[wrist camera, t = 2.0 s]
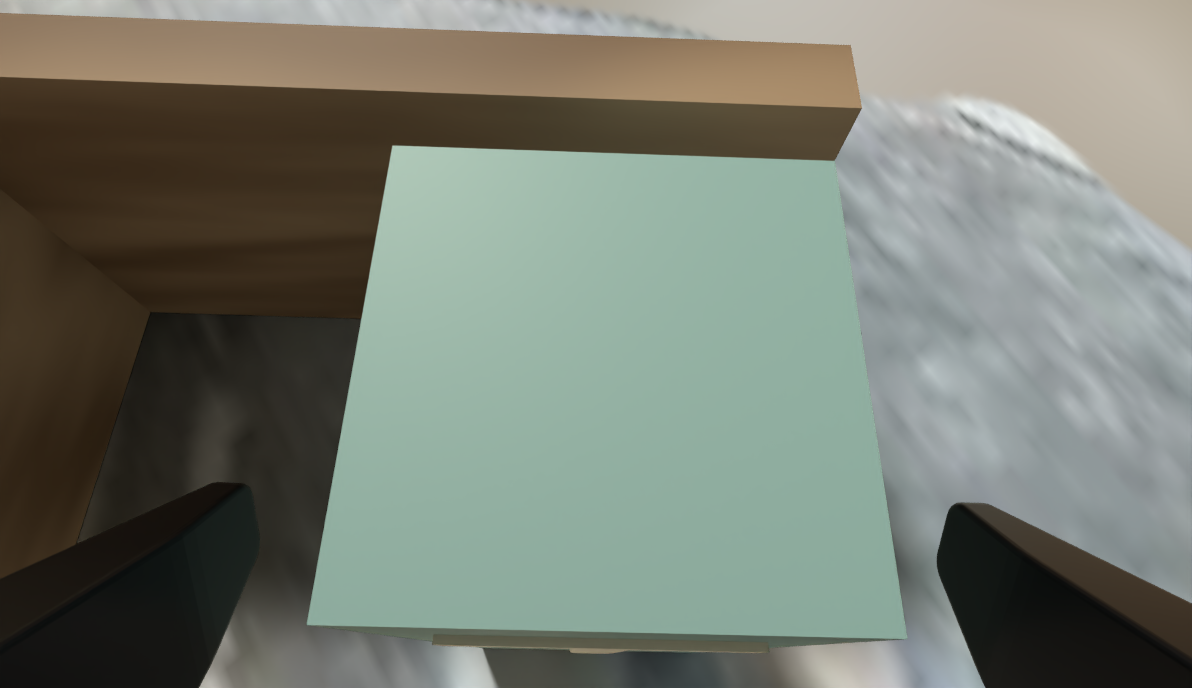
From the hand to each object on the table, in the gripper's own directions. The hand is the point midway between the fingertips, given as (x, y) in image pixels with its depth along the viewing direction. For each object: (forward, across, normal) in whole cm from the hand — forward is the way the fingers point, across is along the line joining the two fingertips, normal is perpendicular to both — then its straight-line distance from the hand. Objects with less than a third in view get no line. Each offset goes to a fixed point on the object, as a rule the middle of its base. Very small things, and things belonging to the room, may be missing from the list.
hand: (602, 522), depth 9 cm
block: (+7, 0, +6) cm, 9 cm away
